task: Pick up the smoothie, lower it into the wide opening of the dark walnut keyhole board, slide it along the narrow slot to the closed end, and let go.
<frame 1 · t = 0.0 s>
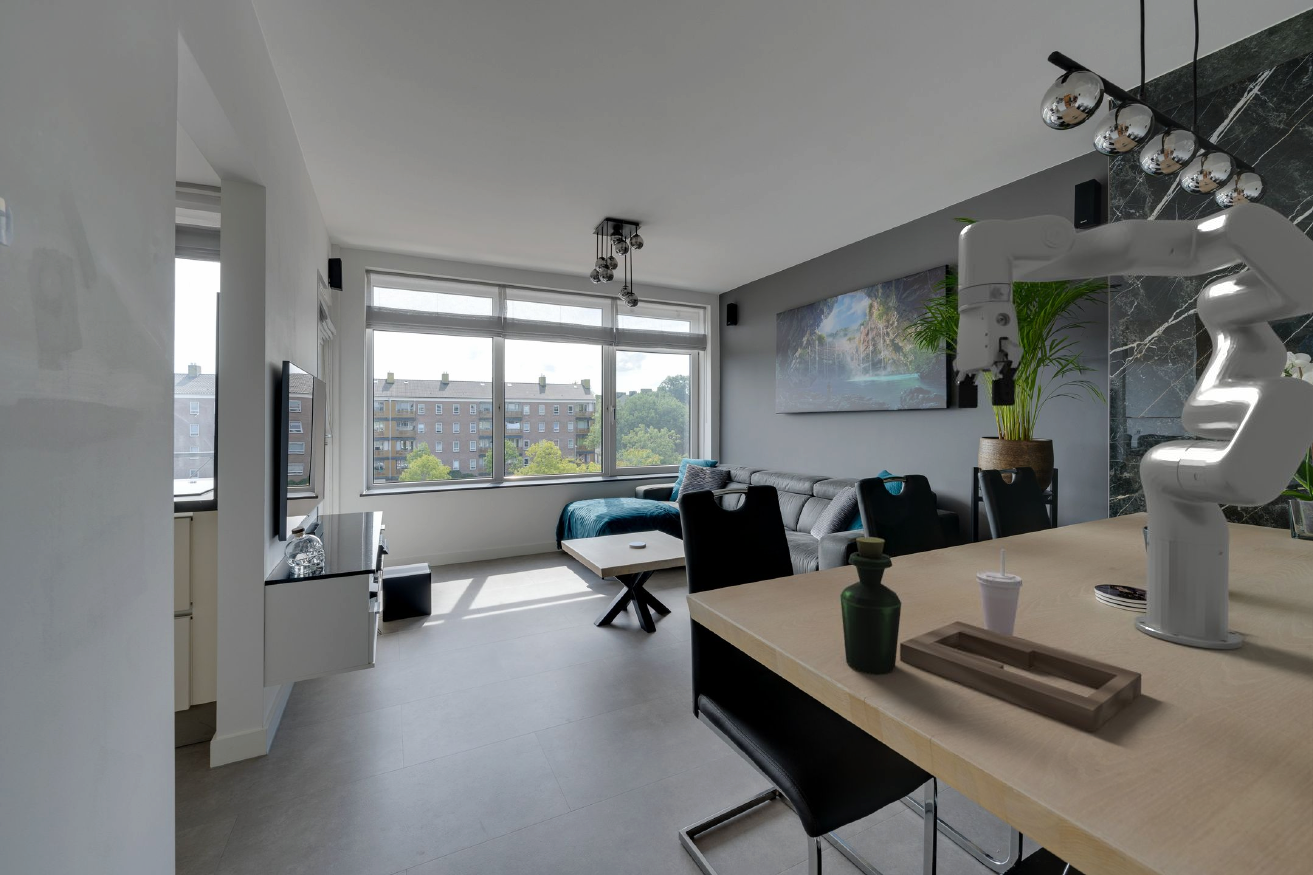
hand: (984, 406, 88), 37 cm above the table, tool pointing down, fingers open, 9 cm apart
smoothie: (998, 636, 89), on the table
potion bottle: (870, 666, 78), on the table
keyhole board: (1012, 675, 74), on the table
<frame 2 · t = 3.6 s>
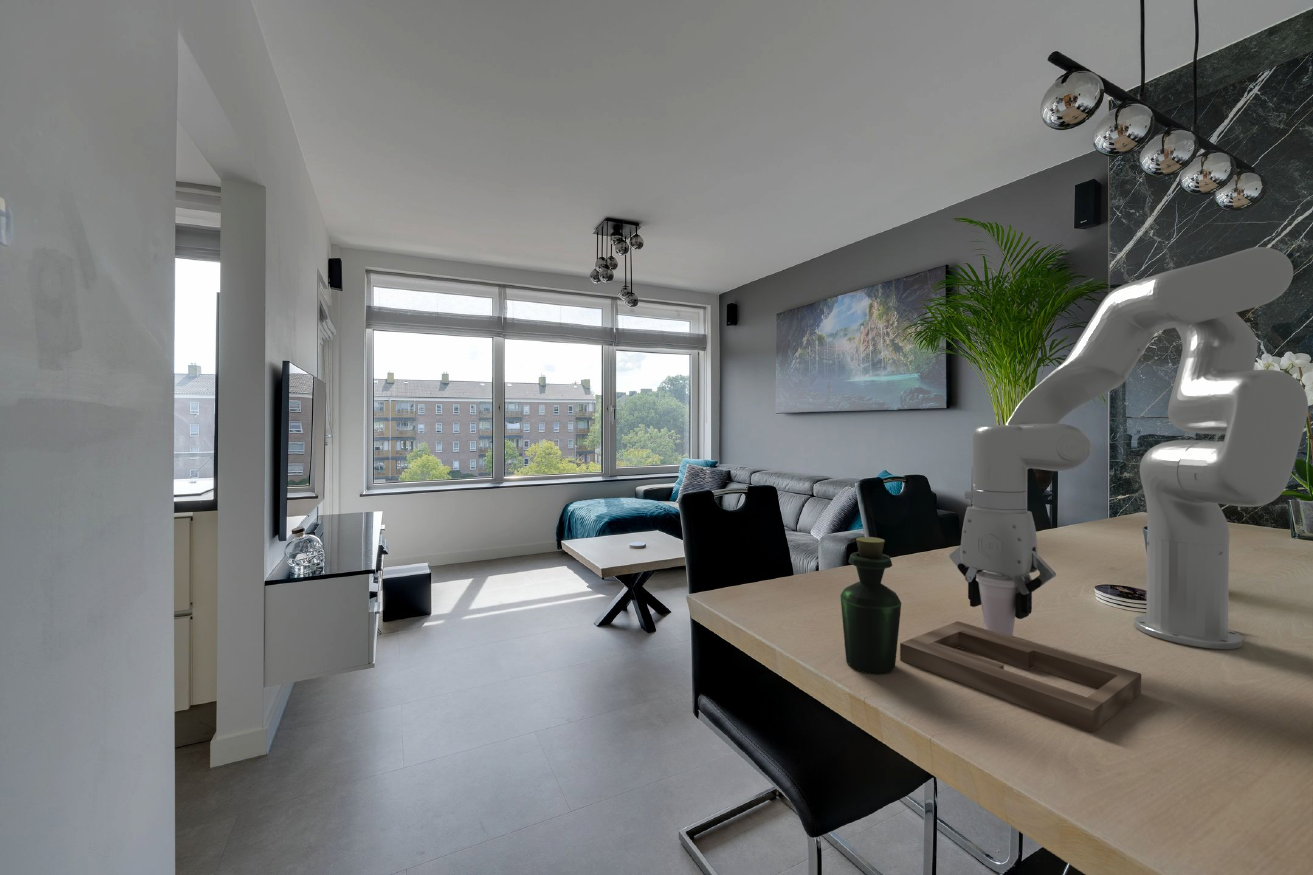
hand: (998, 609, 89), 4 cm above the table, tool pointing down, fingers closed on smoothie, 6 cm apart
smoothie: (998, 636, 89), on the table, touching gripper
everything else where it was.
when the fingers open (5 cm above the table, at t = 12.6 s): smoothie stays where it is, resting in keyhole board.
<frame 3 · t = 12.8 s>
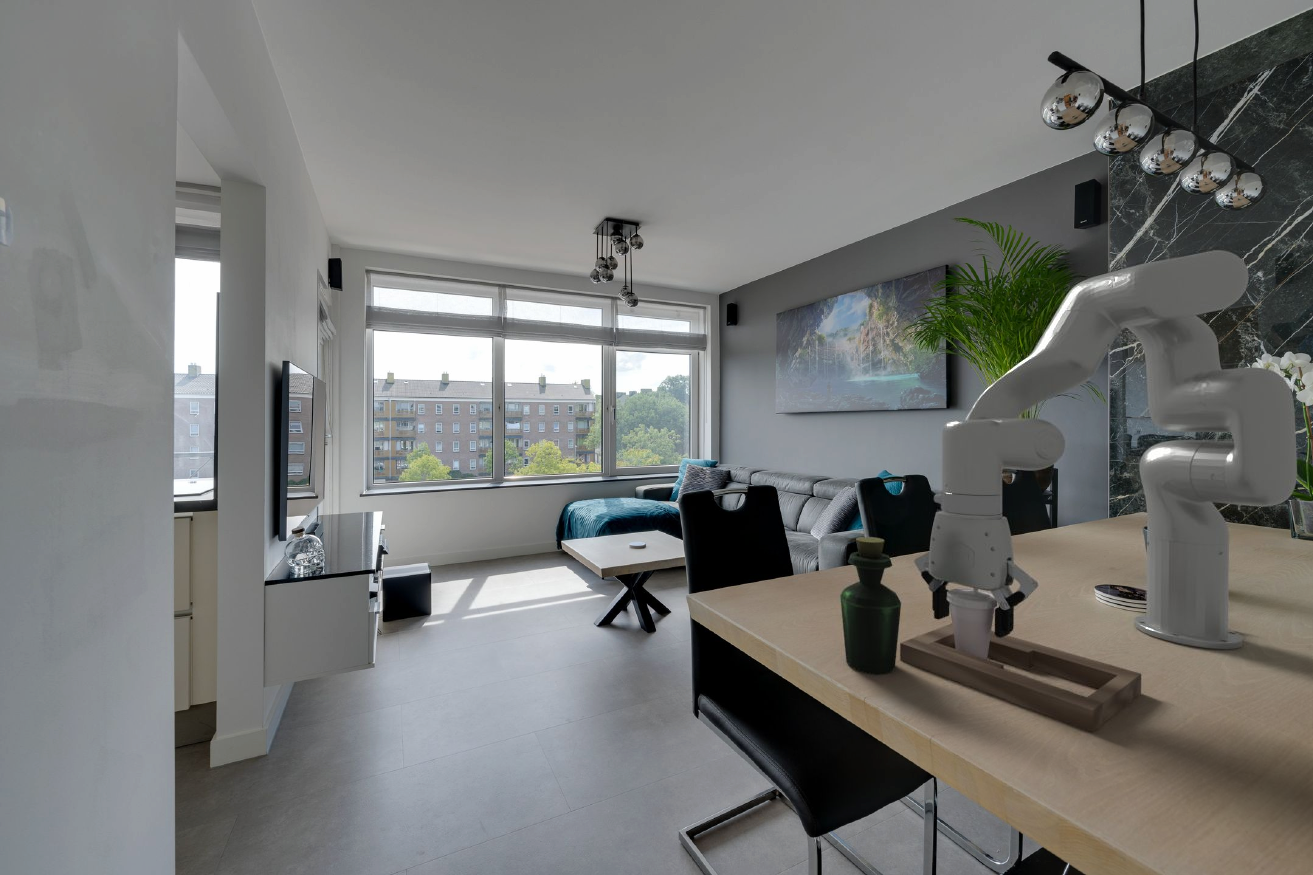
hand: (970, 625, 79), 5 cm above the table, tool pointing down, fingers open, 8 cm apart
smoothie: (971, 662, 79), resting in keyhole board
everything else where it was.
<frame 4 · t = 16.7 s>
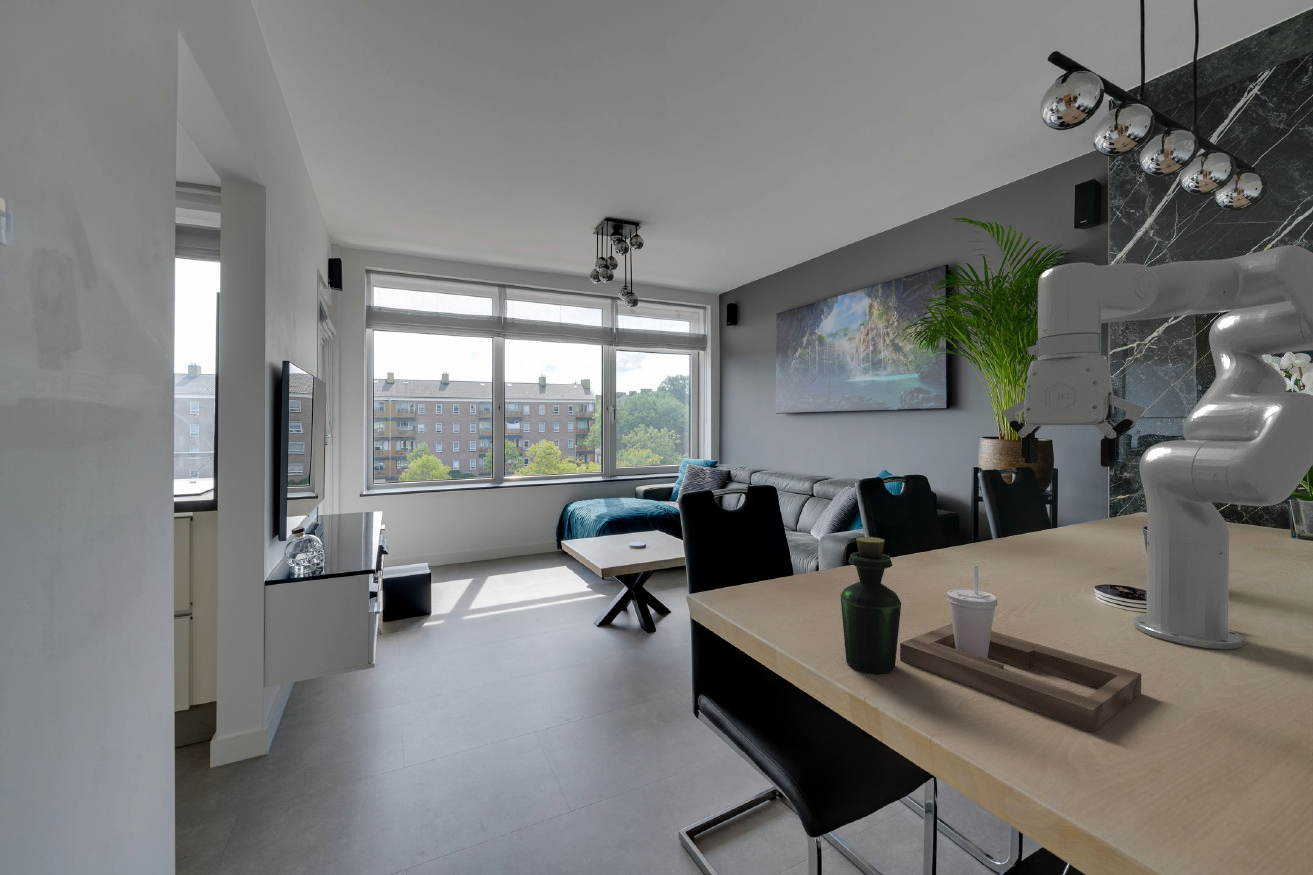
hand: (1067, 464, 81), 28 cm above the table, tool pointing down, fingers open, 9 cm apart
nothing on the table moved.
at the end: smoothie 0.3 cm from the target spot on the keyhole board, point 0.0 cm above the keyhole board's base; smoothie tilted 0°; the gripper is holding nothing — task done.
